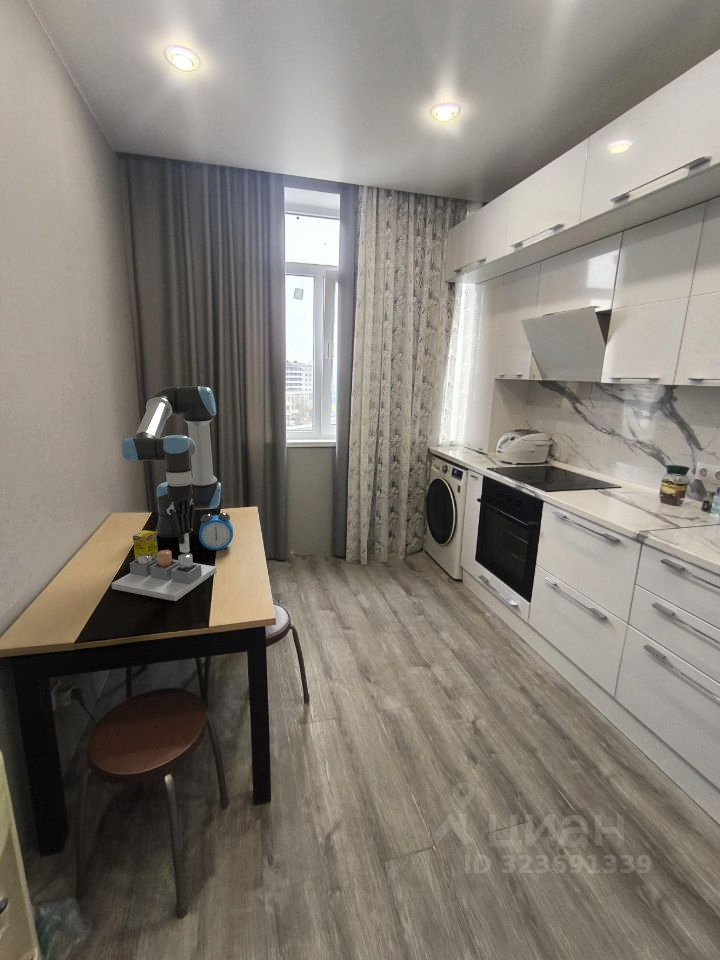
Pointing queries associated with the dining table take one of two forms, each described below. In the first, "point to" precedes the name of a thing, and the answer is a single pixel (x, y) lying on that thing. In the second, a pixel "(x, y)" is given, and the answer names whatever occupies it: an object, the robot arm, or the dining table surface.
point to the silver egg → (185, 562)
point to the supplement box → (145, 543)
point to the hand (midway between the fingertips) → (184, 551)
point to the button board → (162, 579)
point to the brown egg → (164, 558)
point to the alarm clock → (216, 531)
